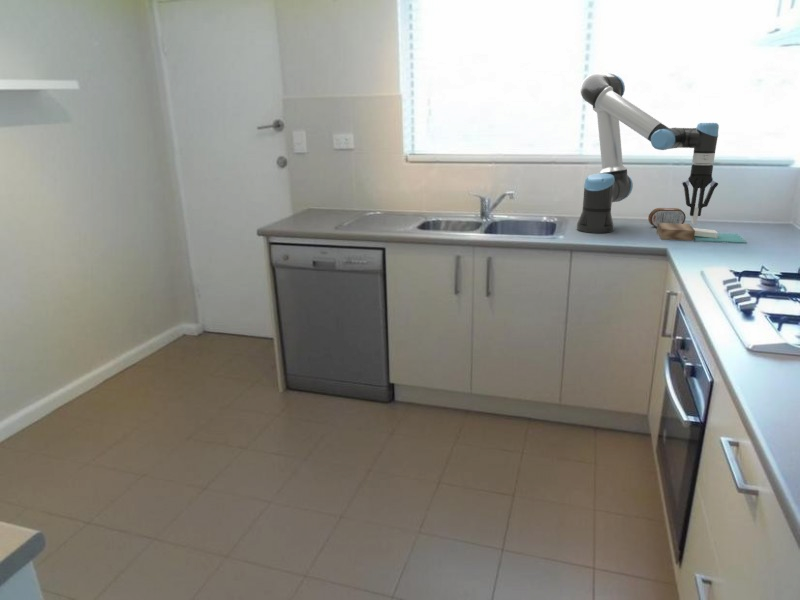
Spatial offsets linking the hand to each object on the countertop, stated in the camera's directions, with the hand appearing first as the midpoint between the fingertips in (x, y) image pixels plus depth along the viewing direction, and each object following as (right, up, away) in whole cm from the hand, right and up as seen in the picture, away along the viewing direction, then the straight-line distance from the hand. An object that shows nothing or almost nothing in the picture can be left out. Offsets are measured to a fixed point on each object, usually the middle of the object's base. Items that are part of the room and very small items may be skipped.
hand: (693, 223), depth 231 cm
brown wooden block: (-6, -5, +4) cm, 8 cm away
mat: (+9, -6, -1) cm, 11 cm away
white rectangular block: (+4, -5, 0) cm, 6 cm away
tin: (-1, +1, +21) cm, 21 cm away
